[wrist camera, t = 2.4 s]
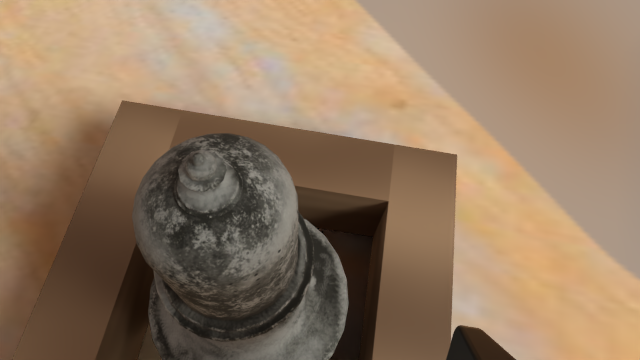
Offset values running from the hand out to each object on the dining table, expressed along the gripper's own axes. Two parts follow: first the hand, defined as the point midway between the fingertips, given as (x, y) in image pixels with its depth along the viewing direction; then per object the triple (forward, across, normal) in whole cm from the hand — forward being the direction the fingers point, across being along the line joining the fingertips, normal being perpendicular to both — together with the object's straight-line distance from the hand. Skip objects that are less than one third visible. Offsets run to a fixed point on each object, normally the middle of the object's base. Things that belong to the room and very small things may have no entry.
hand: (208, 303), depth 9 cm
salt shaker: (+7, 0, +6) cm, 9 cm away
